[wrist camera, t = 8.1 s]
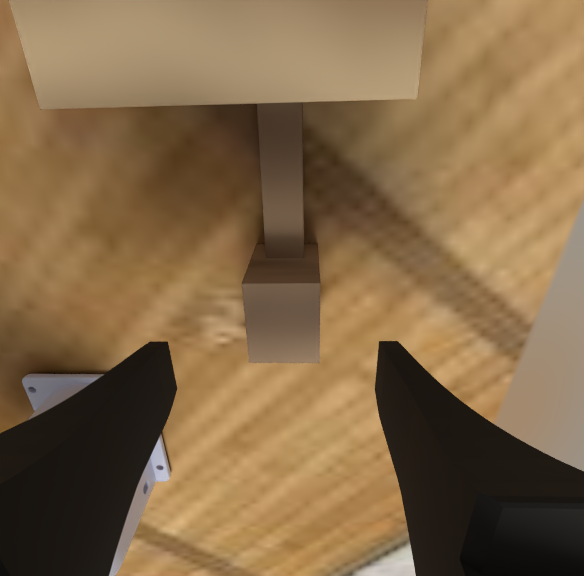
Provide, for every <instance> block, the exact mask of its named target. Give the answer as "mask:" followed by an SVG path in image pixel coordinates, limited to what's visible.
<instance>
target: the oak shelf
mask: <svg viewBox="0 0 584 576" xmlns="http://www.w3.org/2000/svg"><path fill="white" fill-rule="evenodd" d="M427 1H428V0H9V3H10V6H11V10H12V13H13V17H14V20H15V23H16V27H17V30H18V34H19V37H20V41H21V44H22V48H23V51H24V55H25V58H26V62H27V65H28V69H29V72H30V76H31V79H32V83H33V86H34V90H35V93H36V97H37V100H38V104H39V107H40V109H74V108H110V107H146V106H181V105H217V104H253V103H289V102H324V101H360V100H396V99H417V95H418V85H419V76H420V67H421V57H422V48H423V39H424V29H425V20H426V11H427Z"/></svg>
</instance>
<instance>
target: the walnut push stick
mask: <svg viewBox="0 0 584 576" xmlns="http://www.w3.org/2000/svg"><path fill="white" fill-rule="evenodd" d="M257 118H258V135H259V152H260V168H261V185H262V202H263V219H264V235H265V244H256V247H255V250H254V252H253V255H252V258H251V260H250V263H249V266H248V269H247V271H246V274H245V277H244V279H243V282H242V290H243V301H244V311H245V322H246V333H247V344H248V355H249V363H320V273H319V257H318V244H304V185H303V102H289V103H257Z"/></svg>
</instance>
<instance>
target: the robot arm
mask: <svg viewBox="0 0 584 576" xmlns="http://www.w3.org/2000/svg"><path fill="white" fill-rule="evenodd" d="M22 384H23V386H24V388H25V391H26V393H27V395H28V398H29V400H30V402H31V405H32V407H33V409H34V413H33V414H32V415H31V416H30V417H29V419H28V420H27V421H25V422H23V423H21V424H19V425H17V426H15V427H13V428H11V429H9V430H6V431H4V432H2V433H0V576H115V575H116V573H117V572H118V570H119V569H120V567H121V565H122V563H123V561H124V558H125V556H126V553H127V551H128V548H129V546H130V543H131V541H132V539H133V536H134V534H135V531H136V529H137V526H138V524H139V521H140V519H141V516H142V514H143V511H144V509H145V506H146V504H147V501H148V499H149V496H150V494H151V491H152V489H153V486H154V484H155V481H167V480H169V478H170V475H171V472H170V468H169V464H168V460H167V455H166V451H165V447H164V443H163V439H162V435H161V433H162V430H163V428H164V426H165V424H166V422H167V419H168V417H169V414H170V411H171V408H172V405H173V402H174V398H175V394H176V391H177V385H176V380H175V375H174V370H173V365H172V360H171V355H170V350H169V345H168V342H149V343H148V344H146V345H144V346H143V347H142V348H140V349H139V350H137V351H136V352H135V353H133V354H132V355H130V356H129V357H128V358H126V359H125V360H124V361H122V362H121V363H119V364H118V365H117V366H115V367H114V368H113V369H111V370H110V371H108V372H107V373H106V374H27V375H26V376H25V377H24V378H23V379H22ZM375 393H376V399H377V406H378V411H379V417H380V421H381V424H382V427H383V431H384V434H385V438H386V441H387V445H388V448H389V451H390V455H391V458H392V461H393V465H394V468H395V471H396V475H397V478H398V482H399V486H400V490H401V495H402V500H403V505H404V511H405V516H406V521H407V526H408V532H409V538H410V543H411V549H412V555H413V560H414V566H415V573H416V576H584V471H581V470H579V469H577V468H575V467H572V466H570V465H568V464H565V463H564V462H561V461H559V460H557V459H555V458H553V457H551V456H549V455H547V454H545V453H543V452H541V451H539V450H537V449H536V448H534V447H532V446H530V445H528V444H526V443H524V442H523V441H521V440H519V439H517V438H515V437H514V436H512V435H511V434H509V433H507V432H506V431H504V430H502V429H501V428H499V427H497V426H496V425H494V424H493V423H491V422H490V421H488V420H487V419H485V418H484V417H482V416H481V415H479V414H478V413H477V412H475V411H474V410H472V409H471V408H470V407H468V406H467V405H466V404H464V403H463V402H462V401H460V400H459V399H458V398H457V397H455V396H454V395H453V394H452V393H451V392H449V391H448V390H447V389H446V388H445V387H444V386H442V385H441V384H440V383H439V382H438V381H437V380H436V379H435V378H434V377H433V376H431V375H430V374H429V373H428V372H427V371H426V370H425V369H424V368H423V367H422V366H421V365H420V364H419V363H418V362H417V361H416V360H415V359H414V358H413V357H412V356H411V354H410V353H409V352H408V351H407V350H406V349H405V348H404V347H403V346H402V345H401V344H400V343H399V342H398V341H379V350H378V361H377V372H376V383H375Z"/></svg>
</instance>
